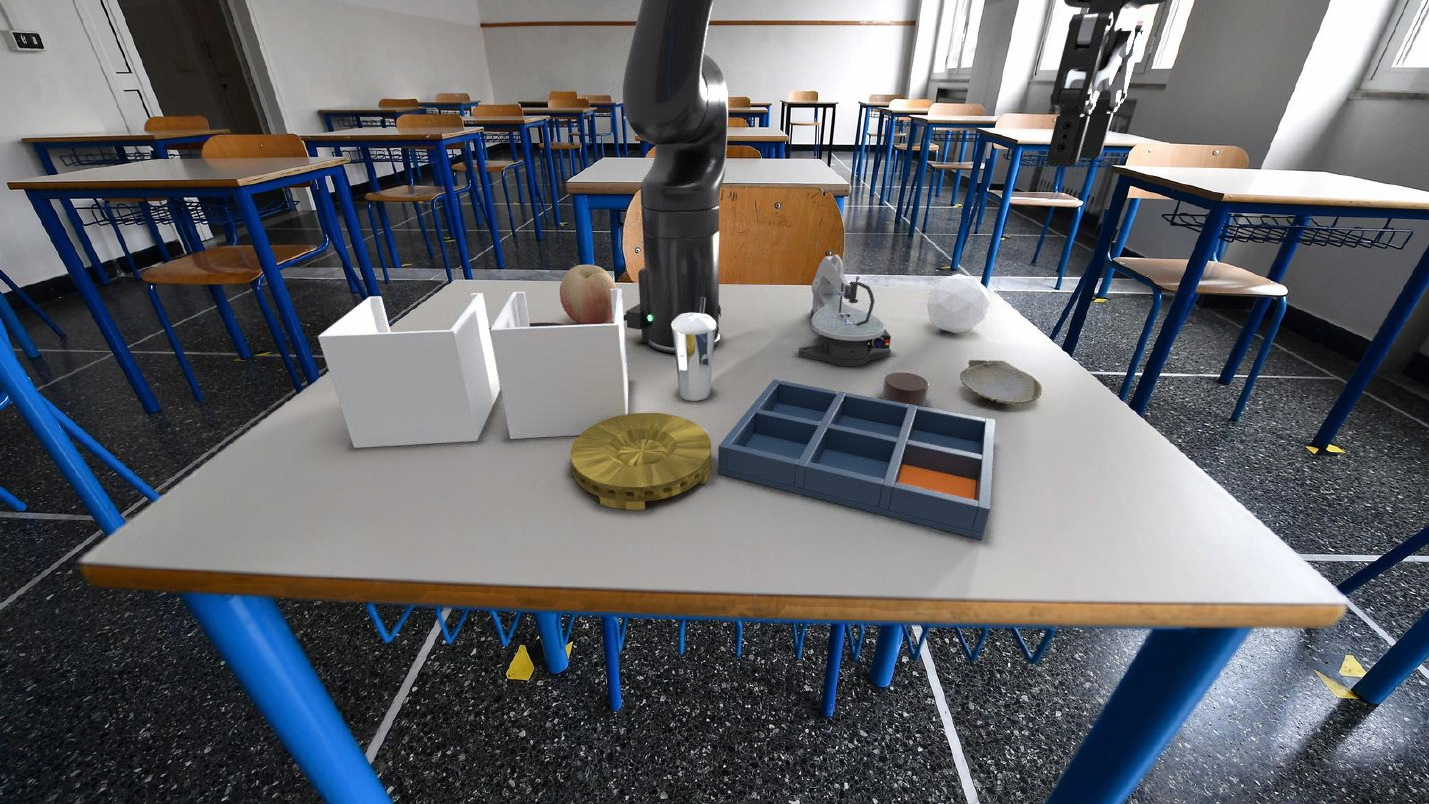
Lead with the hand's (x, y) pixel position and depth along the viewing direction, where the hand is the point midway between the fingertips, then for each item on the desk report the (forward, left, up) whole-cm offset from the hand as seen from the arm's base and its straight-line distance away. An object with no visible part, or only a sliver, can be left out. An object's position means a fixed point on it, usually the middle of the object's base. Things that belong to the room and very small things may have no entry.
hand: (1073, 161), depth 52 cm
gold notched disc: (-29, -26, -24) cm, 46 cm away
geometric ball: (-7, +21, -24) cm, 33 cm away
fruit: (-54, +3, -24) cm, 60 cm away
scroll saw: (-21, +11, -24) cm, 34 cm away
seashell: (-1, +2, -24) cm, 24 cm away
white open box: (-47, -23, -24) cm, 58 cm away
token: (-10, -4, -24) cm, 26 cm away
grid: (-12, -17, -24) cm, 32 cm away
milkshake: (-31, -11, -24) cm, 41 cm away
